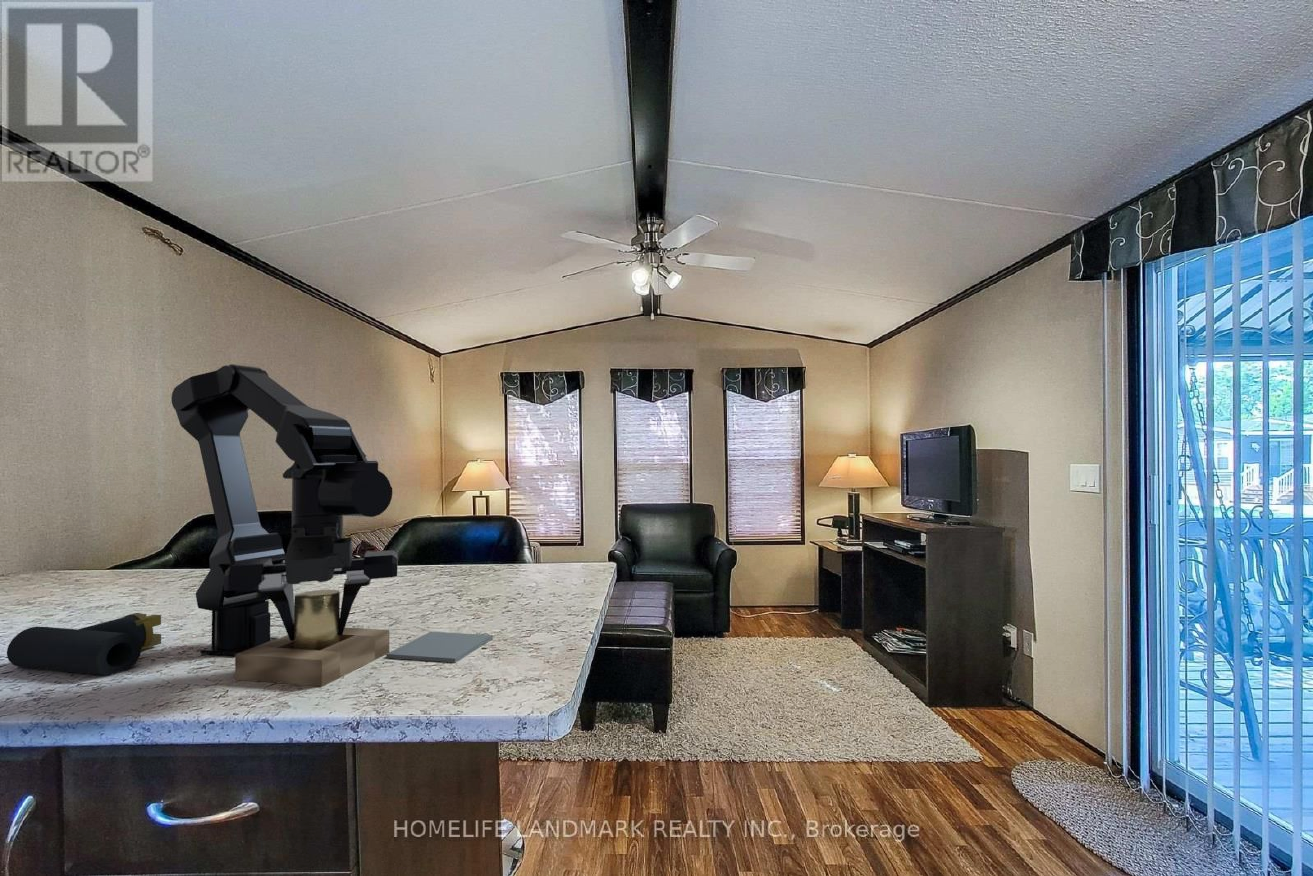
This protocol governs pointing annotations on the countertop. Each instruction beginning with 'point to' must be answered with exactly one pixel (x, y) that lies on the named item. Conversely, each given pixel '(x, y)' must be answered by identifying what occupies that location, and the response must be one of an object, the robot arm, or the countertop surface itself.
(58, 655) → the pipe connector
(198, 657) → the countertop surface
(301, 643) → the end plug
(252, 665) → the housing
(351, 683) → the countertop surface
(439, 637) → the mat
